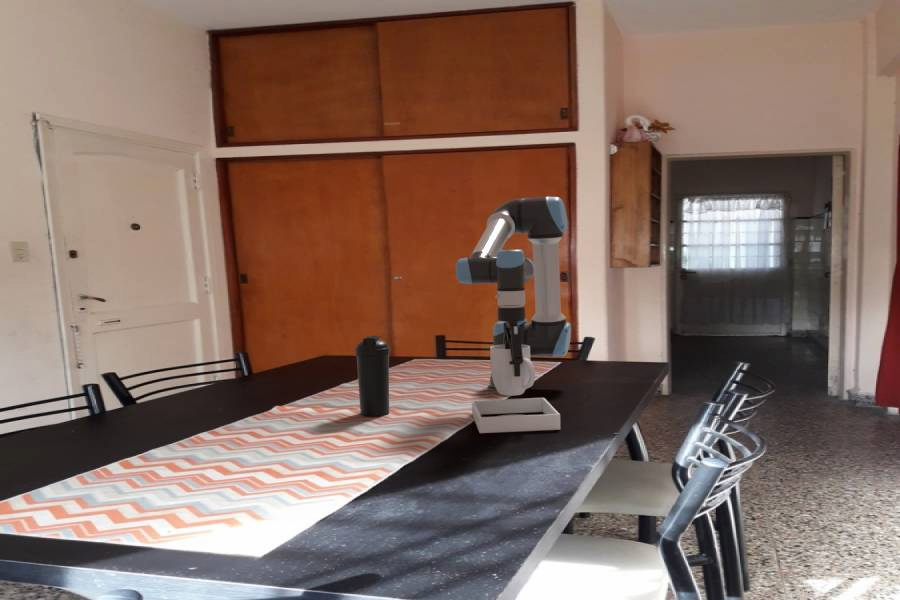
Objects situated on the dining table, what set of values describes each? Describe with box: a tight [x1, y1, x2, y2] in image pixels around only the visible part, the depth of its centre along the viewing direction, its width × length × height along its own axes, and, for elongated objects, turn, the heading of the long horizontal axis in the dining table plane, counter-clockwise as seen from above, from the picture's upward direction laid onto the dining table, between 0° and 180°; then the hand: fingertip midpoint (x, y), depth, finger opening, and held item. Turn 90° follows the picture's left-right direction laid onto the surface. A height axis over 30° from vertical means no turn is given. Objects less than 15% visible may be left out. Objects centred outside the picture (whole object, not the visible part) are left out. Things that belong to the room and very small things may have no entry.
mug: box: [489, 344, 536, 397], centre depth 188 cm, size 15×11×13 cm
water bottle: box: [354, 335, 391, 418], centre depth 203 cm, size 10×10×23 cm
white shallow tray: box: [471, 397, 561, 434], centre depth 189 cm, size 21×21×4 cm
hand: (513, 383), depth 189 cm, fingers closed on mug, 13 cm apart
